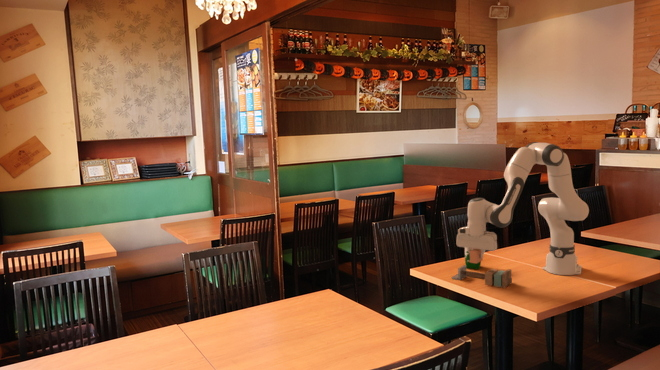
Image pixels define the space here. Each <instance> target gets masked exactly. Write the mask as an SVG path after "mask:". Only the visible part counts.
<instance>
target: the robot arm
mask: <svg viewBox="0 0 660 370" xmlns="http://www.w3.org/2000/svg"><path fill="white" fill-rule="evenodd" d="M570 163H571V162H570V160H569V157H568V155H567V153H565V152H564V151H563V149H562V148H561V147H560V146H559V145H557V144H555V143H554V144H553V143H549V142H537V141H535V142H534V141H533V142H530V143H528V144H526V146H522V147H520V148H518V149H517V150H516V151H515V153H513V156H511V158H510V160H509V161H508V163H507V165H506V167H505V169H504V172H503V178H504V180H505V182H506V184H507V191H506V193H505V196H504V197H503V199H502V202H501V204H496V203H493V202H490V201H488V200H486V199H485V198H484V197H475V198H472V199H470V200H469V201H468V204H467V219H468V220H467V225H466V226H463V227H460V228H459V229H458V228H457V234H456V243H455V244H456V246H457V247H459V248H464V249H465V248H468V249H467V250H468V252H469V253H470V251H471V249H472V248H473V249H481V252H482V253H481V254H479V258H483V259H484V254H485V252H486V251H490V252H495V251H497V249H498V242H497V240H498V235H497V233H495V232H494V231H487V227H486V225H487V223H490V224H491V225H494V226H495V227H497V228H501V229H502V228H506V227H507V226H509V225H510V224H511V223H512V222H513V217H514V216H513V215H514V210H515V208H516V206H517V203H518V202H519V199H520V196H521V194H522V192H523V190H524V187H525V183H526V181H527V178H528V176H529V175H530V173H531V170H532V168H533V166H534V165H536V164H537V165H543V166H544V165H545V166H546V169H547V170H546V171H547V182H548V188H549V190H550V191H551V192H552V193H554V194H555V195H556V196H557V197H554V196H553V197H543V198H541V200H540V201H539V202H538V206H537V209H538V212H539V214H540V215H541V216H542V217H543V218H544V219H545V220H546V223H547V225H548V227H549V232H550V244H549V247H548V248H549V252H548V253H546V259H545V266H543V267H542V270H544V271H546V272H547V273H549V274H550V273H551V274H554V275H559V276H572V275H573V276H574V275H582V267H583V266H582V265H580V264H579V263H578V256H577V255H576V251H575V250H576V246H575V244H574V243H575V242H574V241H575V232H574V230H573V228H571V227H570V226H568V224H567V223H566V221H571V222H579V221H580V222H581V221H584V220H585V219H586V218H588V216H589V212H590V209H589V205H588V204H587V203H586V202H585V201H584V200H582V199H581V197H579V195H578V193H577V192H576V189H575V188H574V184H573V177H572V176H573V175H572V169H571V164H570Z"/></svg>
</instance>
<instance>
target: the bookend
mask: <svg viewBox="0 0 660 370" xmlns="http://www.w3.org/2000/svg"><path fill="white" fill-rule="evenodd" d="M466 271H467V268H466V264H463V265H462V266H460V267H457V274H454V275H453V276H452V277H451V279H452V280H458V281H461V280H463V279H465V278H467V276H466Z"/></svg>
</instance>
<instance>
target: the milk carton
mask: <svg viewBox="0 0 660 370" xmlns="http://www.w3.org/2000/svg"><path fill="white" fill-rule="evenodd" d="M467 249H468V248H465V247H464V261H465V263H464V265H466V269H470V270H480V267H481V265H482V261H480V262H478V263H477V264H476V263H470V253H469V252H468V250H467ZM471 250H473V248H472V249H471Z"/></svg>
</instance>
